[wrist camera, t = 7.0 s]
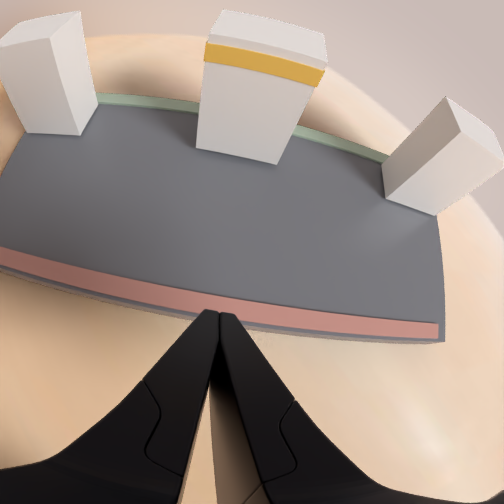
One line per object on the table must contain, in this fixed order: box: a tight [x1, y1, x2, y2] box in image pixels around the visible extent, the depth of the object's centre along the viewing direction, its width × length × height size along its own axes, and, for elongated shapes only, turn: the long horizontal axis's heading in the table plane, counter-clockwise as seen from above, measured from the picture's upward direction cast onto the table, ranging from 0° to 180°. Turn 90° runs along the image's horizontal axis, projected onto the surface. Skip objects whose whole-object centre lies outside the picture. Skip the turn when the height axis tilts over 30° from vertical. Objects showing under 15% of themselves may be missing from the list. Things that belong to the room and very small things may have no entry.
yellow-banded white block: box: [196, 9, 328, 165], centre depth 14 cm, size 3×5×8 cm, turn 83°
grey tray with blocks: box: [0, 11, 504, 344], centre depth 14 cm, size 14×32×10 cm, turn 83°
